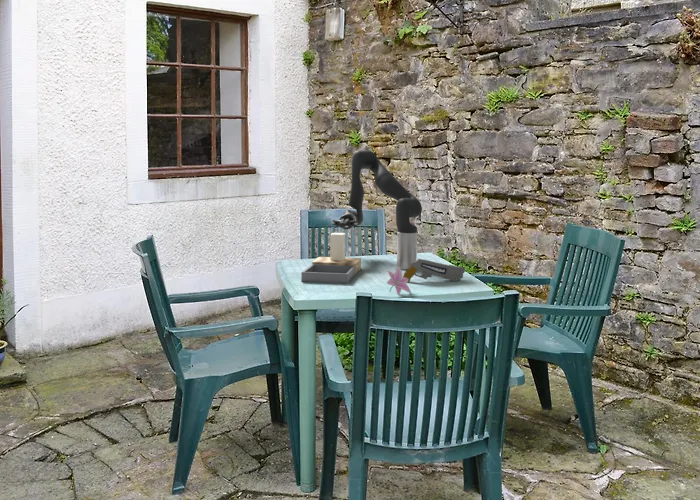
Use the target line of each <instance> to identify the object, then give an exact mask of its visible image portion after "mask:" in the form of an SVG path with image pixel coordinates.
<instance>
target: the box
mask: <svg viewBox="0 0 700 500" xmlns="http://www.w3.org/2000/svg"><path fill="white" fill-rule="evenodd" d="M300 275H301V277H300V278H301V279H300V280H301V282H304V283H305V282H307V283H329V284H332V283H333V284H349V283H350V281H352V279H354V277H355V276H356V275H357V274H356V266H344V265H318V264H312V263H311V264H310V265H309V266H308V267H307V268H305V269H304V270H302V271H301V274H300Z"/></svg>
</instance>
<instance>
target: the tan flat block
mask: <svg viewBox="0 0 700 500" xmlns="http://www.w3.org/2000/svg"><path fill="white" fill-rule="evenodd" d="M312 264H318V265H344V266H356V275H357V274H358V273H359V271H360V270H362V269H361V268H362V258H361V257H345V259H344V260H343V261H340V260H330V256H319V257H316V259H314V260H313V261H312V263H311V265H312Z"/></svg>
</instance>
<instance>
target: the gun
mask: <svg viewBox="0 0 700 500" xmlns="http://www.w3.org/2000/svg"><path fill="white" fill-rule="evenodd" d="M417 271H420V272H421V274H420V275H418V274H417ZM465 272H466V268H465V267H462V266H457V265H453V264H444V263H441V262H437V261H432V260H428V259H423V258H417V260H416V261H415V262H413V263H412V264H411V267H410V268H409V269H408V270H406V271H405V272H404V273H403V274H402V277H405V278H407V279H409V280H408V282H407V283H410V281H411V279H412V278H413V277H414V276H415V277H418V278H420V279H421V278H422V279H424V280H427V279H428V278H432V276H436V277H439V278H442V279H447V280H450V281H452V282H458V281H461V279H463V277H464V273H465Z"/></svg>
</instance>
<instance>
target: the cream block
mask: <svg viewBox="0 0 700 500" xmlns="http://www.w3.org/2000/svg"><path fill="white" fill-rule="evenodd" d="M346 237H347V236H346V233H345V232H332V233H330V239H329V240H330V243H329V244H330V247H329V248H330V250H329V252H330V253H329V254H330V255H329V257H330V260H340V261H343V260H344V259H345V258H346Z"/></svg>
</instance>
